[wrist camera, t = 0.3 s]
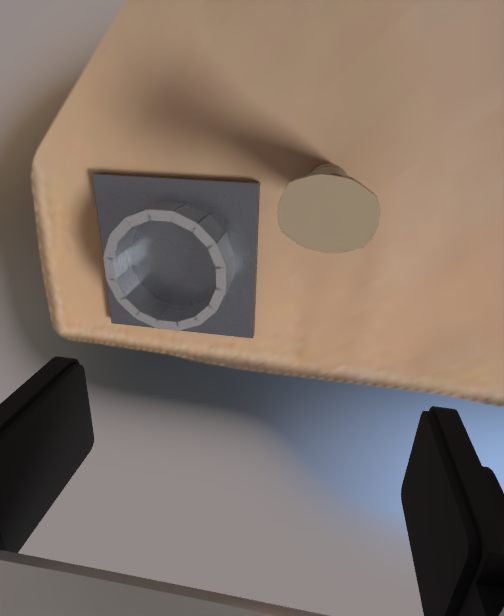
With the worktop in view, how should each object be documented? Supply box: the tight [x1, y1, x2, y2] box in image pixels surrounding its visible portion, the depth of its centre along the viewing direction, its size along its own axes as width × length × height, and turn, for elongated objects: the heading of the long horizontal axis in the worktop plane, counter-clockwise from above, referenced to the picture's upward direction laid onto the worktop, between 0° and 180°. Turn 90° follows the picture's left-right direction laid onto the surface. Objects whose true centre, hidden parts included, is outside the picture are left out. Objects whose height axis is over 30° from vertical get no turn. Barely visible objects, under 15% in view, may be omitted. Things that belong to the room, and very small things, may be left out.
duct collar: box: [93, 173, 260, 338], centre depth 44 cm, size 17×17×5 cm
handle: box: [277, 163, 380, 253], centre depth 33 cm, size 5×6×15 cm
